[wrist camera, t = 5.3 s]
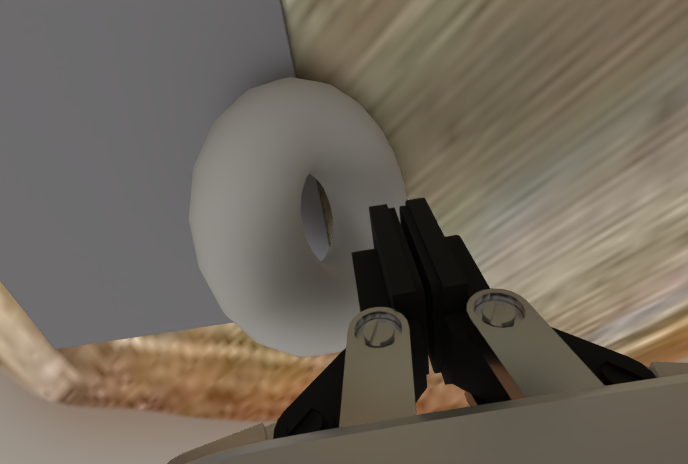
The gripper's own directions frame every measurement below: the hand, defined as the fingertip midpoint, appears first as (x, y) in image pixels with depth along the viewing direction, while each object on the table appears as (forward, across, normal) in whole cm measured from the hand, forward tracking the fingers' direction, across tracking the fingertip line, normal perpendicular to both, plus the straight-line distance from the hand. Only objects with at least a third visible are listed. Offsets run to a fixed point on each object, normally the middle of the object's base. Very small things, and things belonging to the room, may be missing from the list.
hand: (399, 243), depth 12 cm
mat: (+8, +11, 0) cm, 14 cm away
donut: (+7, 0, 0) cm, 7 cm away
